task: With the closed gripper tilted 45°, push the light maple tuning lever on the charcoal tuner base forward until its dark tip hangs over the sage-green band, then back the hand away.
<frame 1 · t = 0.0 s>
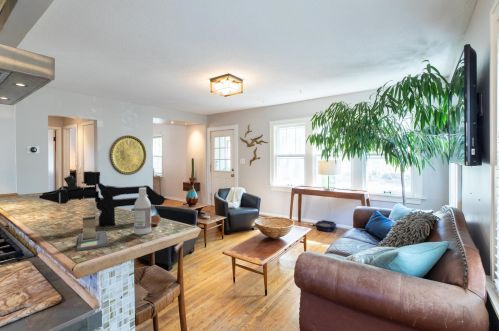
hand: (40, 195, 108), 17 cm above the countertop, tool horizontal, fingers open, 9 cm apart
tuner base: (89, 242, 96), on the countertop
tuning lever: (89, 228, 96), point 6 cm above the countertop, hinge at 0.0°
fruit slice: (151, 226, 121), on the countertop
bath foam: (142, 233, 110), on the countertop
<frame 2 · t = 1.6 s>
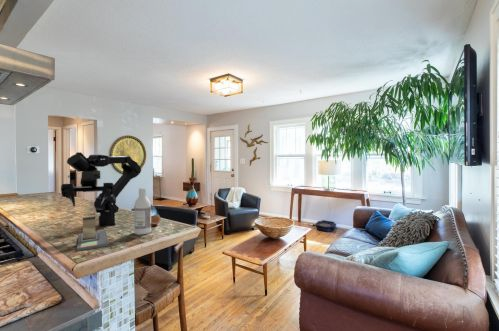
hand: (87, 205, 101), 14 cm above the countertop, tool tilted 45°, fingers open, 9 cm apart
nothing on the countertop moved.
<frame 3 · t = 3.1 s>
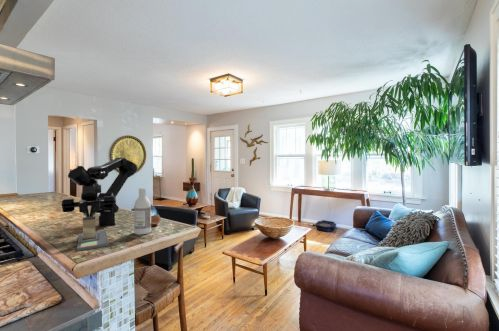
hand: (89, 220, 100), 8 cm above the countertop, tool tilted 45°, fingers closed
nothing on the countertop moved.
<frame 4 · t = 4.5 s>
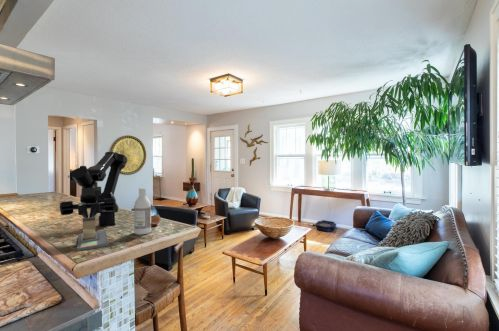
hand: (88, 224, 96), 7 cm above the countertop, tool tilted 45°, fingers closed, pressing on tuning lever
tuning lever: (89, 228, 95), point 6 cm above the countertop, hinge at 9.0°, touching gripper
everything else where it was.
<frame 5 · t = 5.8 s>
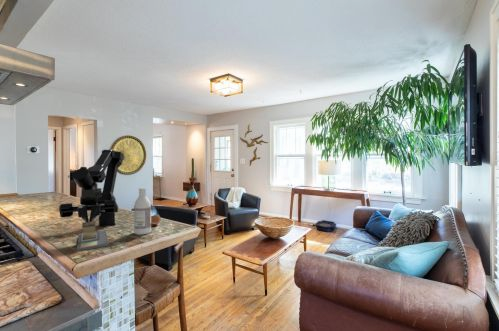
hand: (88, 226, 94), 7 cm above the countertop, tool tilted 45°, fingers closed
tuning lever: (89, 231, 94), point 5 cm above the countertop, hinge at 35.2°
everything else where it was.
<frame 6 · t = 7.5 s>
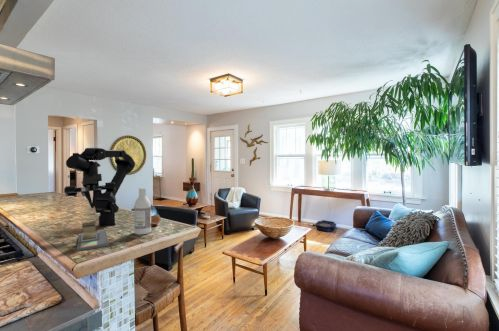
hand: (92, 207, 106), 12 cm above the countertop, tool tilted 25°, fingers closed
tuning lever: (89, 231, 94), point 5 cm above the countertop, hinge at 35.5°
everything else where it was.
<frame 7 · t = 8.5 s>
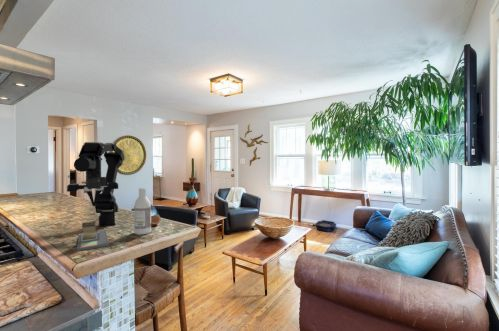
hand: (93, 206, 108), 12 cm above the countertop, tool pointing down, fingers closed
nothing on the countertop moved.
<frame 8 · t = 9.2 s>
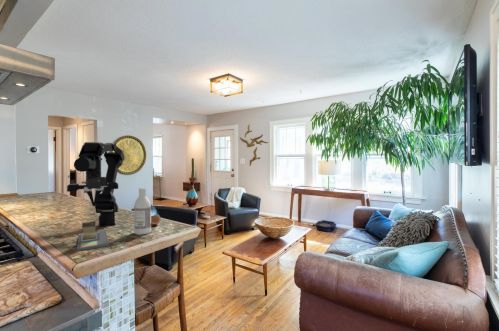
hand: (93, 206, 108), 12 cm above the countertop, tool pointing down, fingers closed
nothing on the countertop moved.
at the end: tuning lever at +36° (first picture: +0°); bath foam moved 0.2 cm from its start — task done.
